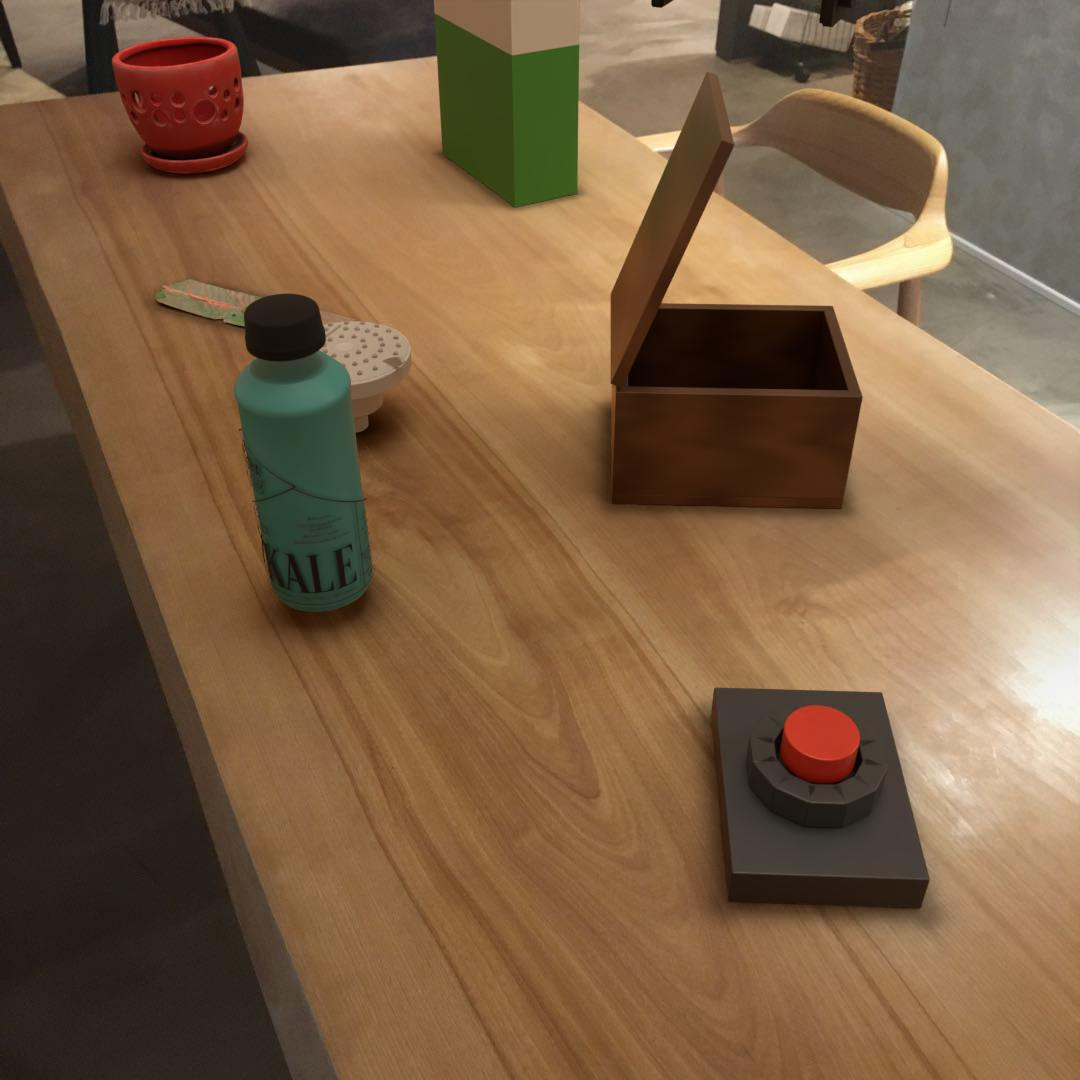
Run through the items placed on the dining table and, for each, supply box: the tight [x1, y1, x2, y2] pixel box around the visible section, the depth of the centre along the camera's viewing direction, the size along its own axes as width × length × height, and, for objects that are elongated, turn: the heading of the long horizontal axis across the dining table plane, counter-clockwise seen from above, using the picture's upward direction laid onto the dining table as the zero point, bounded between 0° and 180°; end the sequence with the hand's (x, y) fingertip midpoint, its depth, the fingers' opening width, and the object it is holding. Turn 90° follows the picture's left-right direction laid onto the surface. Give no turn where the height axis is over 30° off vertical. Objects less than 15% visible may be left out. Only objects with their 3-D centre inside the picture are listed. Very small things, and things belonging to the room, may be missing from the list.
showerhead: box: [319, 320, 412, 434], centre depth 86 cm, size 9×7×10 cm
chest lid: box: [610, 71, 735, 387], centre depth 75 cm, size 17×13×1 cm
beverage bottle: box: [233, 293, 376, 613], centre depth 67 cm, size 6×7×20 cm
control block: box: [710, 687, 931, 909], centre depth 59 cm, size 12×9×4 cm
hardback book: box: [433, 0, 581, 208], centre depth 121 cm, size 18×7×24 cm, turn 29°
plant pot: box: [111, 36, 249, 175], centre depth 129 cm, size 13×13×12 cm
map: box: [154, 278, 357, 327], centre depth 103 cm, size 5×20×1 cm, turn 63°
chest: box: [610, 302, 864, 509], centre depth 82 cm, size 16×13×9 cm
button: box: [780, 705, 860, 784], centre depth 57 cm, size 4×4×2 cm
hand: (747, 11), depth 66 cm, fingers open, 9 cm apart
